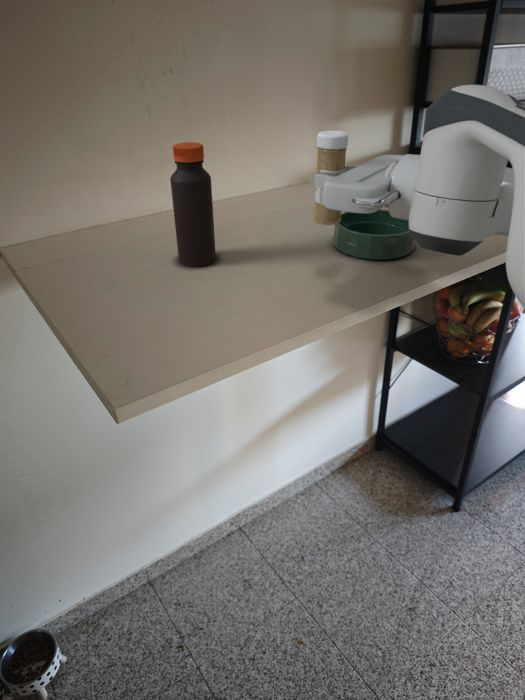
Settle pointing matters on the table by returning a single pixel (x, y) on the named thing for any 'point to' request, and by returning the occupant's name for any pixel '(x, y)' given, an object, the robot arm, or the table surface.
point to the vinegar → (192, 206)
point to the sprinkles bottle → (329, 170)
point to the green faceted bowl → (373, 235)
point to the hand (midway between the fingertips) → (325, 174)
